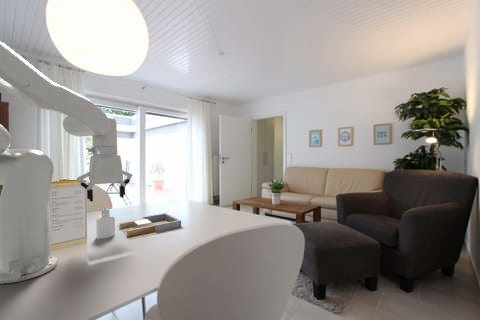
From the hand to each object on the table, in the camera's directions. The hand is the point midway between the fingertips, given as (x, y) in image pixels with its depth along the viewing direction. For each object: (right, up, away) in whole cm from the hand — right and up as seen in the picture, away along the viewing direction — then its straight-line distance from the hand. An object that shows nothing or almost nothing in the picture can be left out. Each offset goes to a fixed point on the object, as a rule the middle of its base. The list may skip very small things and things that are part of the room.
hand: (107, 198), depth 82 cm
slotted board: (+11, -14, +11) cm, 21 cm away
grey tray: (+15, -13, +13) cm, 24 cm away
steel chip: (+9, -13, +9) cm, 18 cm away
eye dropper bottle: (0, -15, 0) cm, 15 cm away
